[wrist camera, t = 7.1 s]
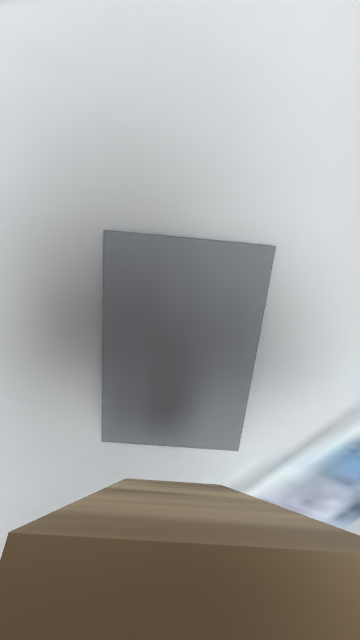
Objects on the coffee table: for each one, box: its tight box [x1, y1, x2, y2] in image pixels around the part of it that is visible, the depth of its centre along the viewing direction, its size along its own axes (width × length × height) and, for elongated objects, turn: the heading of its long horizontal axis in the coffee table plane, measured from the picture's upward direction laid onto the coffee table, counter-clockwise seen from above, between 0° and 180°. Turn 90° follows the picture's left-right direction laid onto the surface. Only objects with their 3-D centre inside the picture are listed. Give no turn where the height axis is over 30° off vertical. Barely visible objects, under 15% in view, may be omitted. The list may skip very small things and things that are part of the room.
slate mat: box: [102, 230, 276, 451], centre depth 19 cm, size 16×11×1 cm
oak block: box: [0, 479, 360, 640], centre depth 7 cm, size 4×5×12 cm
